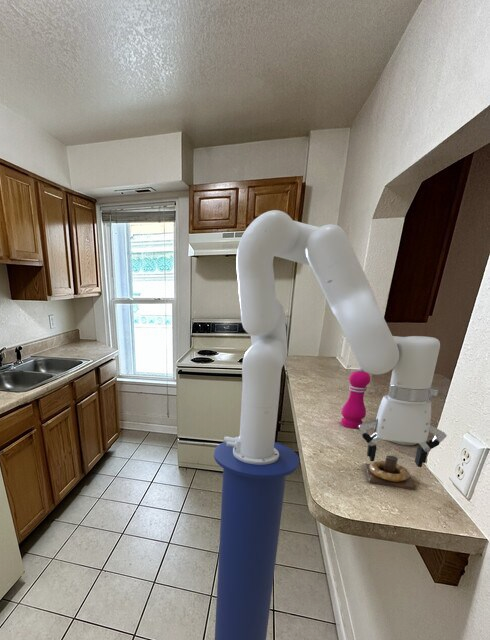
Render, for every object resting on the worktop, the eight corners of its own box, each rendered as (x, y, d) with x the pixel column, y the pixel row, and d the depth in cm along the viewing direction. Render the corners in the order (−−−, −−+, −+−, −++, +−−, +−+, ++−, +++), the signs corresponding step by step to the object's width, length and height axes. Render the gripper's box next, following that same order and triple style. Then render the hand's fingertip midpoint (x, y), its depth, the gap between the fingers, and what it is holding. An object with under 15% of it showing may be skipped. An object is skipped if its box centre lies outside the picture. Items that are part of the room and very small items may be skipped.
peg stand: (369, 482, 84) (373, 462, 82) (364, 465, 92) (368, 447, 90) (413, 489, 81) (419, 469, 79) (404, 471, 89) (409, 452, 87)
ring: (371, 479, 84) (373, 472, 83) (366, 464, 91) (368, 457, 90) (411, 485, 81) (413, 478, 80) (403, 469, 88) (405, 462, 87)
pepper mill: (335, 425, 119) (345, 366, 112) (344, 419, 123) (354, 363, 116) (358, 430, 114) (370, 370, 107) (366, 425, 118) (378, 366, 111)
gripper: (449, 391, 79) (432, 460, 85) (362, 386, 85) (352, 450, 91) (462, 400, 72) (442, 474, 78) (366, 395, 79) (355, 463, 84)
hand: (394, 461), depth 84 cm, fingers open, 9 cm apart
